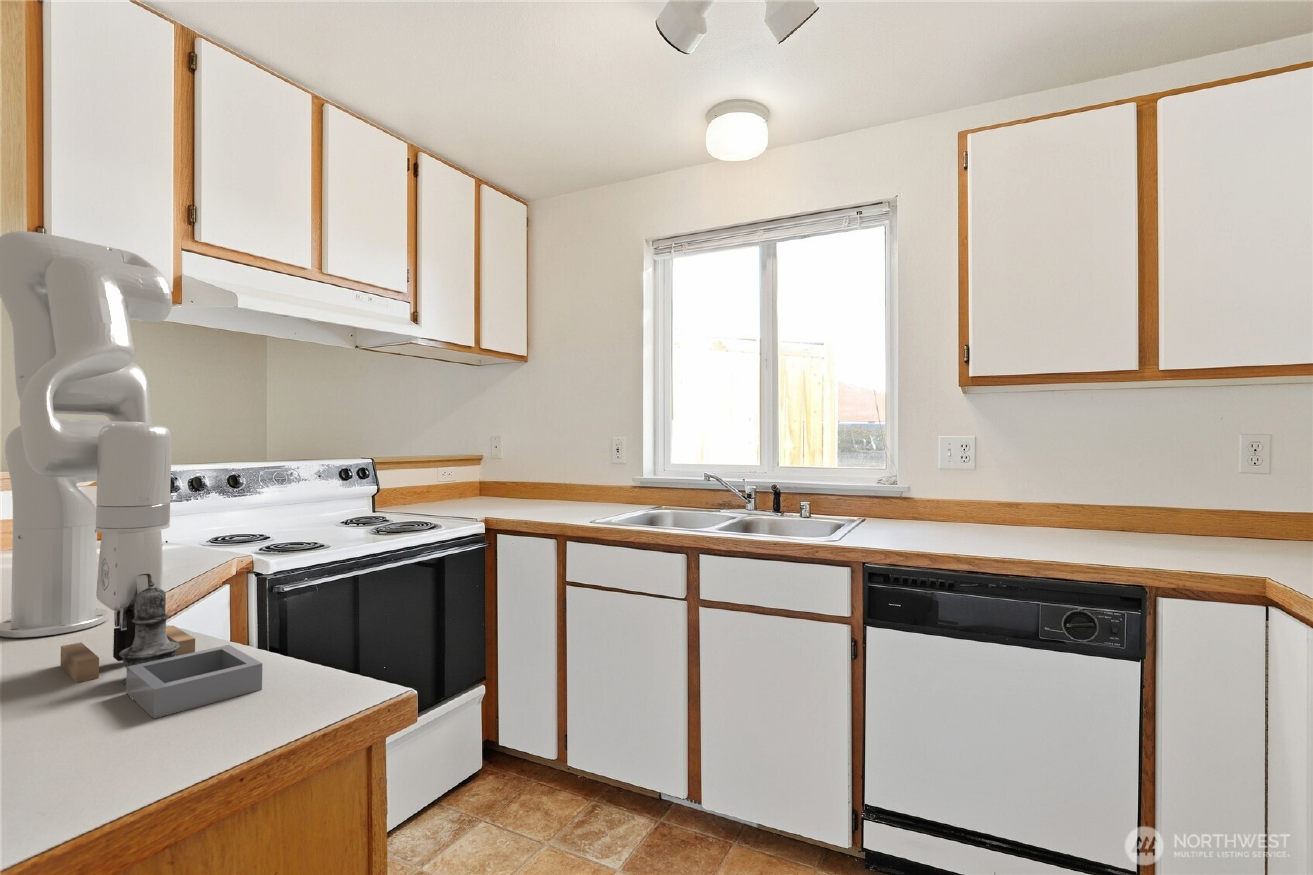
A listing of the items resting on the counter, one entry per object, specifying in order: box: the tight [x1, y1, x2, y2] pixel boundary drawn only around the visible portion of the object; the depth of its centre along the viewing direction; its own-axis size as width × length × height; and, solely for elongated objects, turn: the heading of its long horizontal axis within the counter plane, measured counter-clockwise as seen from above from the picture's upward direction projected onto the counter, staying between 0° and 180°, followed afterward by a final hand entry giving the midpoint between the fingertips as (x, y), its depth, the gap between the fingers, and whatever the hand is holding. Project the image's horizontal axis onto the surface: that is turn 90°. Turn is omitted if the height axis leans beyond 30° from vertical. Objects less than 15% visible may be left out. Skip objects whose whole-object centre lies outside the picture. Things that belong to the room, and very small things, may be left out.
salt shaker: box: [119, 581, 180, 686], centre depth 79 cm, size 6×6×12 cm
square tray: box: [125, 644, 263, 719], centre depth 75 cm, size 10×10×3 cm
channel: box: [60, 625, 196, 683], centre depth 85 cm, size 9×12×2 cm
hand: (130, 656), depth 84 cm, fingers closed
